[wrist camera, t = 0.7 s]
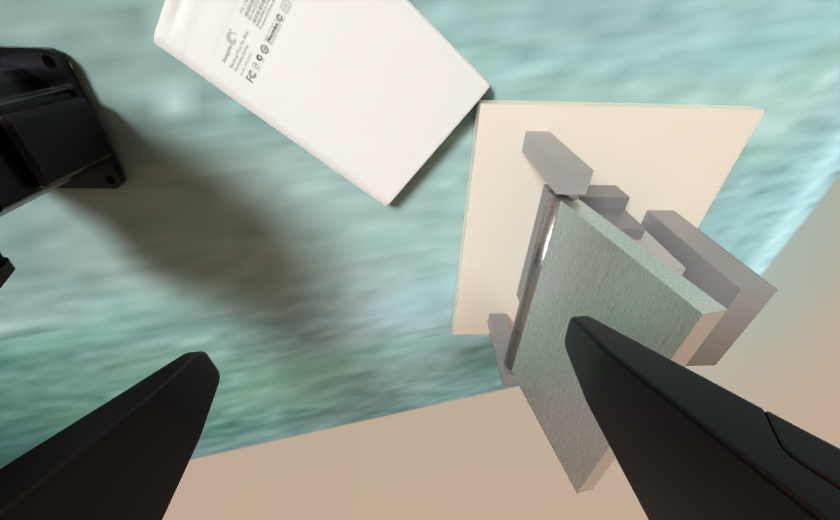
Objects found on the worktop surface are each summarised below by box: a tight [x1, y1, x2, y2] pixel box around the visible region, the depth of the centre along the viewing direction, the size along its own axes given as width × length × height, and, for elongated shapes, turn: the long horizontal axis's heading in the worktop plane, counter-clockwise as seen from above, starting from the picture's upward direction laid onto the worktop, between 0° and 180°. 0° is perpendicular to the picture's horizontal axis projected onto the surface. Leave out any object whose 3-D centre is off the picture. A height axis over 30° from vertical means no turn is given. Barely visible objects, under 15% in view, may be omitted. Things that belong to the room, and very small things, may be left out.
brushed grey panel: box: [504, 190, 728, 493], centre depth 15 cm, size 1×11×8 cm, turn 178°
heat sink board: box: [452, 100, 777, 385], centre depth 19 cm, size 14×16×8 cm
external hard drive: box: [154, 0, 490, 206], centre depth 16 cm, size 2×8×12 cm
